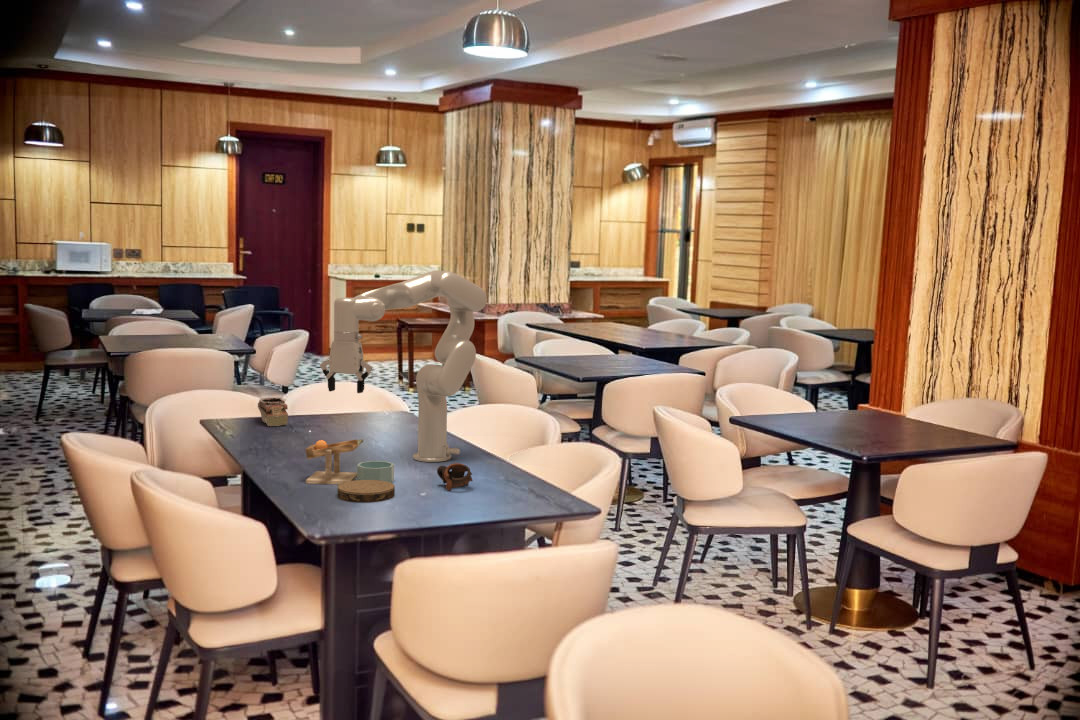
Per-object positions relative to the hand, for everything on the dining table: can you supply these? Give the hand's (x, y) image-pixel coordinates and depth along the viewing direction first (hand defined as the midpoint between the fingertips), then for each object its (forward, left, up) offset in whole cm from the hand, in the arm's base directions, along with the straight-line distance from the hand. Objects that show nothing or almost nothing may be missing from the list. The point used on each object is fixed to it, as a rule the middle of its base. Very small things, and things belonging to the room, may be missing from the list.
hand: (345, 391), depth 314 cm
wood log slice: (-14, +33, -25) cm, 43 cm away
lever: (0, +11, -17) cm, 20 cm away
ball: (+4, +15, -15) cm, 21 cm away
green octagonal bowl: (-13, +15, -25) cm, 31 cm away
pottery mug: (-37, +19, -25) cm, 49 cm away
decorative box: (+48, -77, -25) cm, 94 cm away
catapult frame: (0, +15, -25) cm, 29 cm away
